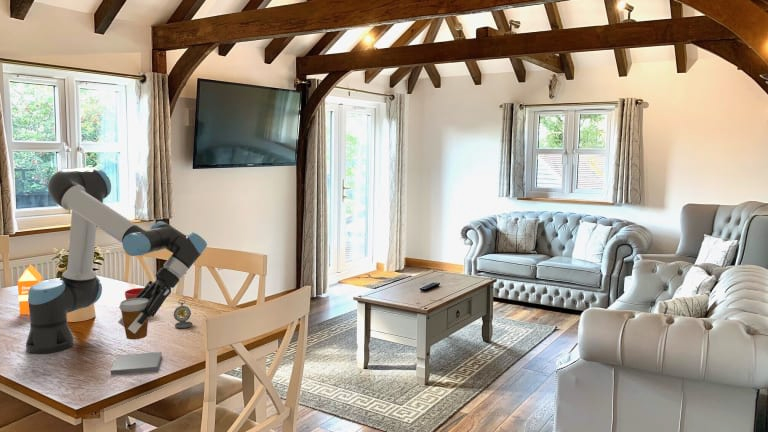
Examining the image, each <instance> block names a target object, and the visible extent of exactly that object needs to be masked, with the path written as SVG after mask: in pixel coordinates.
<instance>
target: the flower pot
mask: <svg viewBox="0 0 768 432" xmlns="http://www.w3.org/2000/svg"><path fill="white" fill-rule="evenodd" d="M143 288H144V287H138V288H131V289H127V290H125V291H124V296H125V300H128V299H133V298H135V297H136V296H137V295H138V294H139V293H140V292H141V290H142V289H143ZM150 299H151V298H150ZM150 299H149V301H150Z"/></svg>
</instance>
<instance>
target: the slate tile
mask: <svg viewBox="0 0 768 432" xmlns="http://www.w3.org/2000/svg"><path fill="white" fill-rule="evenodd" d="M161 359H162V351H157V352H156V351H155V352H144V353H143V352H141V353H131V354H130V353H129V354H118V355H117V356H116V359H115V361H114V362H113V366H112V367H111V369H110V376H111V375H112V376H113V375H116V376H117V375H125V374H126V375H128V374H138V373H150V372H158V370H159V366H160V363H161Z"/></svg>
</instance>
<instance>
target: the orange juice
mask: <svg viewBox="0 0 768 432" xmlns="http://www.w3.org/2000/svg"><path fill="white" fill-rule="evenodd" d="M40 282H43V276H42V275H41V274H40V272H39V271H38V270H37V269H36V268H35V267H34V266H33V265H32V264H30V265H29V266H28V267H27V268H26V269H25V270H24V272H23V273H22V275H21V276H20V277H19V278H18V280H17V290H18V292H17V293H18V306H19V315H20V314H27V313H29V303H28V291H29V289H30V288H31V287H32V286H33V285H35V284H37V283H40Z"/></svg>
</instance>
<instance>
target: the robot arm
mask: <svg viewBox="0 0 768 432" xmlns="http://www.w3.org/2000/svg"><path fill="white" fill-rule="evenodd" d="M47 190H48V194H49V196H50V198H51V199H52V200H53V201H54V203H56V204H57V205H58V206H60V208H63V209H64V210H66V211H71V216H70V217H71V219H70V229H69V230H70V232H69V241H68V242H69V244H68V254H67V255H68V257H67V258H68V259H67V269H66V270H65V271H63V272H62V274H61V279H49V280H44V281H43V280H42V282H40V283H37V284H35V285H33V286H32V287H31V288H30V289H29V291H28V303H29V314H28V315H29V324H30V325H29V326H30V327H29V328H30V329H29V332H28V335H27V338H26V339H27V340H26V343H25V349H26V351H27V352H28V353H30V354H50V353H55V352H60V351H64V350H67V349H69V348H71V347H72V346H74V344H75V341H74V335H73V333H72V330H71V329H70V327H69V324H68V316H67V314H68V313H72V312H75V311H78V310H80V309H81V310H82V309H85V308H88V307H90V306H92V305H94V304H95V303H97V302H98V301H99V299H100V298H101V295H102V292H103V286H102V283H100V282H101V280H100V278H98V277H97V273H96V272H95V271H94V259H95V258H94V256H95V248H96V247H95V246H96V245H95V244H96V235H97V234H96V233H97V228H99V229H100V230H102V232H105V233H106V234H107V235H109V236H111V237H112V238H113V239H115V240H117V241H118V242H119V243H121V244H122V248H123V250H124V251H125V254H127V255H128V256H131V257H137V256H144V255H146V254H149V253H150V254H151V253H153V252H157V251H161V250H164V249H165V250H167V251H168V252H170V253H172V254H171V255H170V256H169V257H168V259H167V260H166V261H165V262H164V263H163V267H160V268H159V270H158V271H157V272H156V273H155V277H156V278H157V279H156V280H155V281H152V280H149V281H148V282H147V284H146V285H145V287H142V288H143V289H142V290H141V292H140V293H139V294H138V295H137V296H136V297H135V298H145V299H148V300H149V299H150V298H151V299H150V301H149V302H148V304H147V306H146V308H145V310H142V311H141V313H140V314H139V316H138V317H137V318H136V319H135V320H134V322H133V323H132V324H131V325H130V326H129V328H128V329H129V330H130V331H132V332H133V333H134V334H135V333H136V332H137V330H138V329H139V328H140V327H141V326H142V324H143V323H144V322H145V321H146V319H147V318H148V319H149V318H150V317H154V316H156V314H157V312H158V311H159V310H160V308H161V307H162V306H163V304H164V302H165V300H166V299H167V298H168V297H169V296H170V294H171V293H172V292H171V290H170V289H169V288H172V289H174V288H175V287H176V285H177V284H178V283H179V282H180V279H182V278H183V277H184V275H186V274H187V273H188V271H189V270H190V268H191V267H192V266H193V265H194V263H195V262H197V260H198V258H199V257H200V256H202V254H203V252H204V251H205V249H206V248H207V246H208V243H207V241H206V240H205V239H204V238H203V237H202V236H200V235H199V234H197V233H196V232H193V231H192V232H189V234H185V233H182V232H181V231H179V229H176V228H175V227H173V226H172V225H171V224H169V223H166V222H164V221H163V220H162V221H157V222H156V223H154V224H153V225H152V226H151V227H150V228H149V229H147V230H146V229H144V228H142V227H141V226H138V225H137V224H135V223H134V222H132V221H130V220H129V219H127V218H126V217H125V216H123V215H122V214H120V213H118V212H117V211H115V210H114V209H112V208H111V207H110V206H108V205H107V204H105V203H104V199H106V198H107V197H108V196H110V194H111V192H112V183H111V179H110V178H109V176H108V175H107V173H106V172H104V170H102V169H99V168H96V167H84V168H71V169H69V168H68V169H62V170H59V171H57V172H56V173H54V174H53V175H52V176H51V177H50V179H49V180H48V185H47ZM142 312H143V313H144V314H143V313H142ZM117 323H118V324H119V325H121V326H122V327H124V322H123V317H122V316H121V317H120V319H119V320H118V321H117Z"/></svg>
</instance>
